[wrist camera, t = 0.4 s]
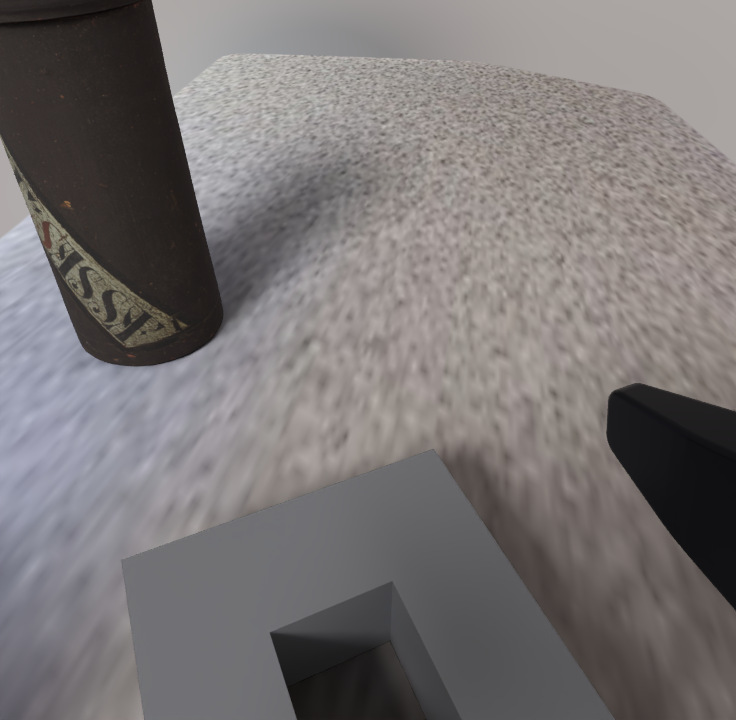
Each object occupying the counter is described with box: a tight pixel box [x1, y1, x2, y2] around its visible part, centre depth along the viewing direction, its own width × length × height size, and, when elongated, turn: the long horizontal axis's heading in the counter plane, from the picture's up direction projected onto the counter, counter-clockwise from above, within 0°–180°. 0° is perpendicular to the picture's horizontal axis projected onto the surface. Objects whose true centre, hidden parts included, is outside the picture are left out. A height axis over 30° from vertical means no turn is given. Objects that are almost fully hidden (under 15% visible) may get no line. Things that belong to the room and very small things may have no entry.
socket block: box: [122, 449, 615, 720], centre depth 19 cm, size 14×12×4 cm
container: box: [0, 0, 223, 366], centre depth 31 cm, size 9×9×20 cm
